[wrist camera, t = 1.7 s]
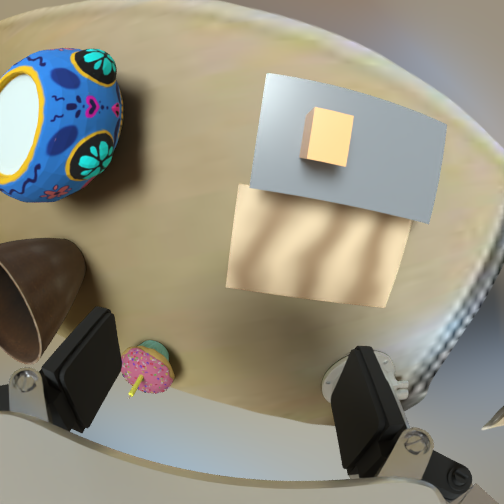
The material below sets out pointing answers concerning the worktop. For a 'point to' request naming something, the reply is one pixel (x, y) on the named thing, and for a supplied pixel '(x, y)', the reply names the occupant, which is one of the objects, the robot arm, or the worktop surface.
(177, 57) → the worktop surface
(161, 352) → the cupcake
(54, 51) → the ceramic pot
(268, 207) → the mat
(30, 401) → the robot arm
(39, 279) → the plant pot
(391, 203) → the lid
